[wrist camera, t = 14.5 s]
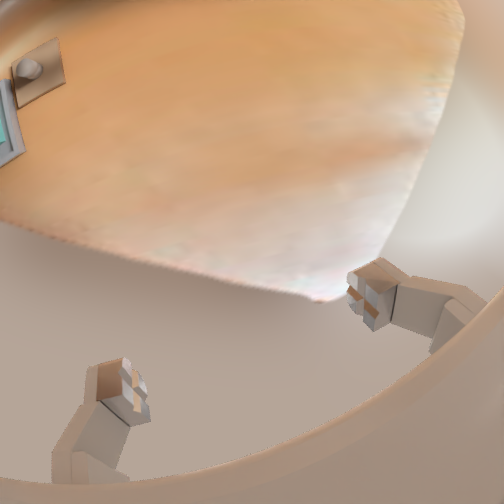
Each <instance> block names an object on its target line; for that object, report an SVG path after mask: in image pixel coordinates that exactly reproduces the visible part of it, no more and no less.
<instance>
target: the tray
mask: <svg viewBox="0 0 504 504" xmlns="http://www.w3.org/2000/svg"><path fill="white" fill-rule="evenodd" d="M0 119H1V124H2V128H3V132H4V136H5V140H6V141H5V142H4V143H2V144H1V145H0V168H1V167H2V166H4V165H5V164H7V163H8V162H10V161H11V160H13V159H14V158H16V157H18V156H19V155H21V154H22V153H24V152H26V149H25V145H24V142H23V138H22V134H21V130H20V126H19V122H18V118H17V113H16V108H15V103H14V98H13V92H12V86H11V80H9V79H3V80H1V81H0Z"/></svg>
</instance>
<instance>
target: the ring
mask: <svg viewBox="0 0 504 504" xmlns="http://www.w3.org/2000/svg"><path fill="white" fill-rule="evenodd" d="M5 141H6V140H5V136H4V132H3V128H2V124H1V119H0V145H1V144H2V143H4V142H5Z"/></svg>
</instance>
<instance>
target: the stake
mask: <svg viewBox="0 0 504 504" xmlns="http://www.w3.org/2000/svg"><path fill="white" fill-rule="evenodd" d="M12 71H13V78H14V85H15V91H16V97H17V102H18V107H19V108H22V107H24V106H25V105H27V104H28V103H30V102H32V101H34V100H35V99H37V98H39V97H40V96H42V95H44V94H46V93H48V92H49V91H51V90H53V89H55V88H57V87H59V86H61V85H63V84H65V83H66V81H65V75H64V70H63V65H62V59H61V52H60V45H59V39H58V38H57V37H56V38H54V39H52V40H50V41H48V42H46V43H44V44H42V45H41V46H39V47H37V48H35V49H34V50H32V51H30V52H29V53H27V54H25V55H24V56H22V57H20V58H19V59H17V60H16V61H14V62H13V63H12Z"/></svg>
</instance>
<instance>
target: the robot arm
mask: <svg viewBox="0 0 504 504" xmlns="http://www.w3.org/2000/svg"><path fill="white" fill-rule="evenodd" d="M347 283H348V284H349V285H350V286H349V288H348V290H347V300H348V303H349V306H350V307H351V309H352V310H353V311H354V312H355V313H356V314H358V315H362V316H363V322H364V323H365V324H366V325H367V326H368V327H369V328H370V329H371V330H372V331H373V332H375V331H376V330H378V329H380V328H382V327H384V326H385V325H387V324H389V323H392V324H394V325H397V326H400V327H402V328H405V329H408V330H410V331H413V332H416V333H418V334H421V335H424V336H427V337H429V338H432V342H431V344H430V347H429V352H430V353H431V354H432V355H431V356H430V357H428V358H427V359H426V360H424V361H423V362H422V363H420V364H419V365H418V366H417V367H415V368H414V369H412V370H411V371H410V372H408V373H407V374H406V375H404V376H403V377H401V378H400V379H398V380H397V381H396V382H394V383H393V384H391V385H390V386H388V387H387V388H385V389H383V390H382V391H380V392H379V393H377V394H376V395H374V396H372V397H371V398H369V399H368V400H366V401H364V402H363V403H361V404H359V405H357V406H356V407H354V408H352V409H350V410H349V411H347V412H345V413H343V414H341V415H340V416H338V417H336V418H334V419H332V420H330V421H328V422H326V423H324V424H322V425H320V426H318V427H316V428H314V429H312V430H310V431H307V432H305V433H303V434H301V435H299V436H296V437H294V438H292V439H289V440H287V441H285V442H282V443H280V444H277V445H275V446H272V447H270V448H267V449H264V450H262V451H259V452H256V453H253V454H250V455H248V456H244V457H241V458H239V459H235V460H232V461H229V462H225V463H222V464H219V465H215V466H211V467H208V468H204V469H200V470H195V471H191V472H187V473H182V474H177V475H172V476H166V477H161V478H155V479H148V480H140V481H132V482H130V479H129V477H128V476H127V475H126V474H124V473H122V472H119V471H118V470H116V466H117V463H118V461H119V458H120V455H121V452H122V450H123V447H124V444H125V441H126V438H127V436H128V433H129V431H130V427H132V426H136V425H140V424H144V423H148V422H150V421H151V420H150V412H149V406H148V405H147V404H146V403H145V402H144V401H145V400H146V398H147V388H146V385H145V382H144V380H143V378H142V376H141V375H140V374H139V372H138V371H135V370H133V369H132V364H131V362H130V361H129V360H128V359H127V358H120V359H116V360H113V361H109V362H105V363H101V364H98V365H94V366H90V367H88V369H87V371H86V381H85V393H84V404H83V405H80V406H79V408H78V410H77V411H76V413H75V414H74V416H73V418H72V419H71V421H70V422H69V424H68V426H67V428H66V429H65V431H64V432H63V434H62V436H61V438H60V439H59V441H58V442H57V444H56V446H55V448H54V449H53V451H52V484H49V483H38V482H28V481H21V480H14V479H8V478H3V477H0V504H504V286H503V287H502V288H501V290H500V291H499V292H498V293H497V294H496V295H495V296H494V297H493V299H491V300H490V302H489V303H487V302H486V301H484V300H483V299H482V298H481V297H479V296H478V295H477V294H475V293H474V292H473V291H471V290H470V289H469V288H467V287H466V286H462V285H457V284H452V283H447V282H442V281H437V280H432V279H427V278H422V277H417V276H412V277H409V276H408V275H407V274H405V273H404V272H402V271H401V270H400V269H398V268H397V267H396V266H394V265H393V264H391V263H390V262H389V261H387V260H386V259H384V258H381V257H380V258H378V259H376V260H374V261H372V262H370V263H368V264H366V265H364V266H362V267H359V268H357V269H355V270H353V271H351V272H349V273H348V275H347Z"/></svg>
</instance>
